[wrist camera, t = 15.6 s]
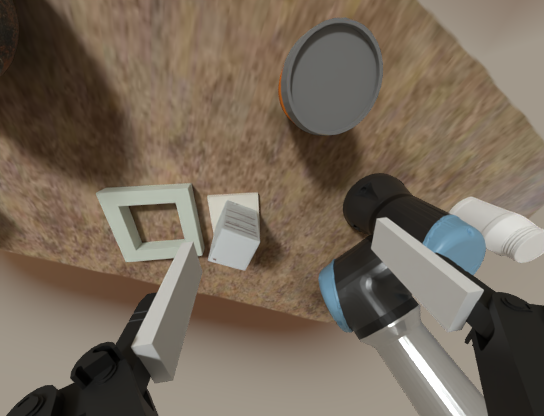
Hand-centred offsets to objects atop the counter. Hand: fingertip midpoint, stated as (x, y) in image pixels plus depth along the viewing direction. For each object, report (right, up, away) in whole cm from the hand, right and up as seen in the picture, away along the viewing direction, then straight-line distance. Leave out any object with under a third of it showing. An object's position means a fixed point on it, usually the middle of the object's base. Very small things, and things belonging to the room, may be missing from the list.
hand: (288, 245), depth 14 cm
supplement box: (-10, +1, +32) cm, 33 cm away
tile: (-10, +1, +33) cm, 34 cm away
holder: (-27, 0, +31) cm, 41 cm away
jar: (+53, +1, +41) cm, 67 cm away
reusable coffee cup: (+5, +24, +23) cm, 34 cm away
